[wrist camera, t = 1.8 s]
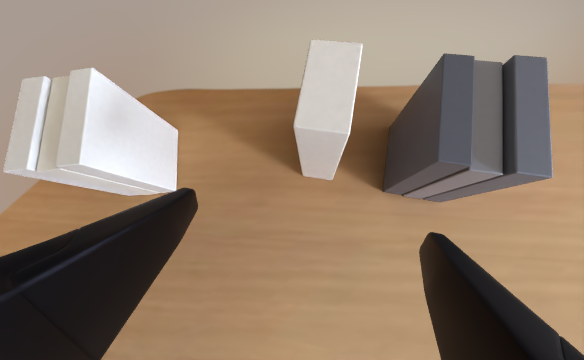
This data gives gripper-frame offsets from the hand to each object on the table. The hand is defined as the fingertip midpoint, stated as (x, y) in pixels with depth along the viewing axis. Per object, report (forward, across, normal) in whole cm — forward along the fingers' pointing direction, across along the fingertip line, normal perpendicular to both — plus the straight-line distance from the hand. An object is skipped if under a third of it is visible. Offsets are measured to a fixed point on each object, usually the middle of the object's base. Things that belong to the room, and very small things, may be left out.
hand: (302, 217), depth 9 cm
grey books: (+15, -9, +4) cm, 18 cm away
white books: (+12, +18, +7) cm, 22 cm away
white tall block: (+15, 0, +4) cm, 15 cm away
